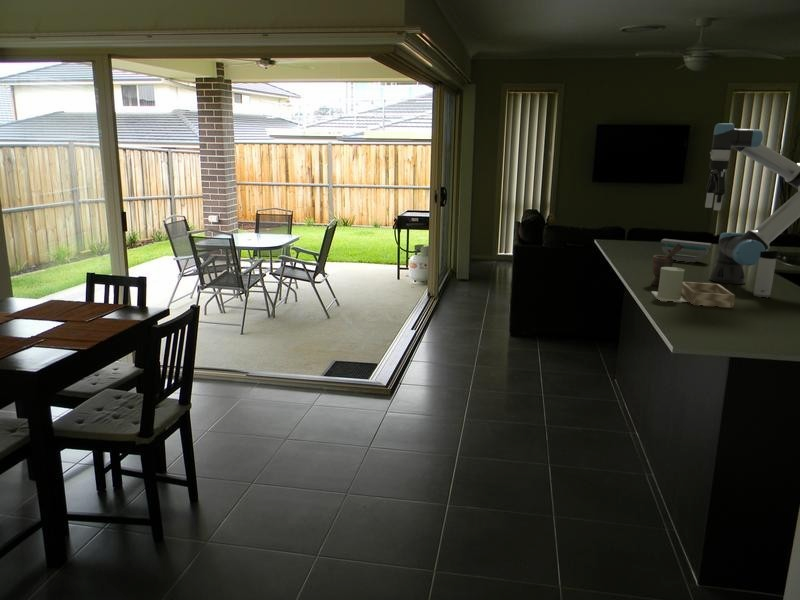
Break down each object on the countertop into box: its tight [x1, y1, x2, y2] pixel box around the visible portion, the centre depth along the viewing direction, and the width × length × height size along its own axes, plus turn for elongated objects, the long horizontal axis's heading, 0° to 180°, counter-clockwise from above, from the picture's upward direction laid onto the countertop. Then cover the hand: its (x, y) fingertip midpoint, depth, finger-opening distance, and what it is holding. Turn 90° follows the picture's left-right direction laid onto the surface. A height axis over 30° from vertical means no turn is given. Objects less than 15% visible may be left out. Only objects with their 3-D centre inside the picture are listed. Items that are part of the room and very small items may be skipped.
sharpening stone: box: [660, 238, 713, 263], centre depth 362 cm, size 25×8×11 cm, turn 57°
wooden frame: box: [681, 281, 736, 309], centre depth 266 cm, size 15×22×5 cm
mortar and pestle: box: [650, 243, 683, 287], centre depth 291 cm, size 12×9×20 cm
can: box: [657, 266, 685, 299], centre depth 267 cm, size 9×9×12 cm
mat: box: [651, 290, 689, 303], centre depth 269 cm, size 11×16×1 cm
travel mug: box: [753, 250, 779, 299], centre depth 275 cm, size 6×7×20 cm
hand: (712, 208), depth 289 cm, fingers open, 13 cm apart
